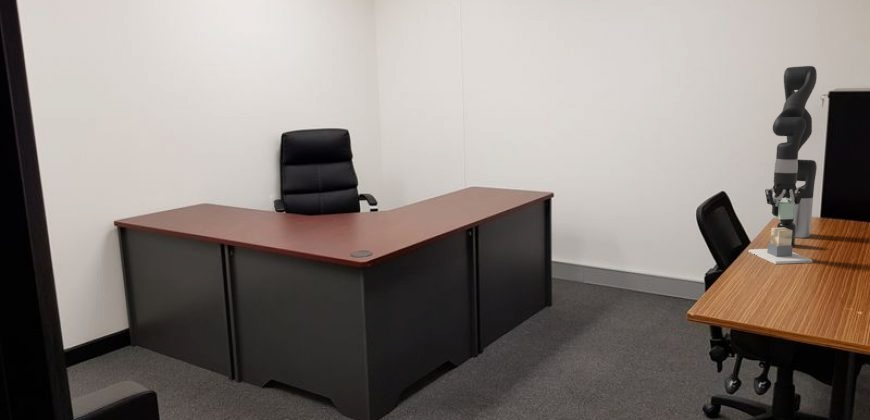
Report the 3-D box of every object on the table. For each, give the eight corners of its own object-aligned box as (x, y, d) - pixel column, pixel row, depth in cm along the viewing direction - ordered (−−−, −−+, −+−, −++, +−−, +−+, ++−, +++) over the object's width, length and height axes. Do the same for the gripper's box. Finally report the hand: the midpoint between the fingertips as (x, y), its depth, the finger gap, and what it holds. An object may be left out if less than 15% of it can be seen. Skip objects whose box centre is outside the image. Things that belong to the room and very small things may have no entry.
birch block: (770, 243, 238) (771, 227, 237) (783, 242, 238) (784, 227, 237) (778, 246, 233) (779, 230, 232) (791, 245, 233) (792, 230, 232)
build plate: (748, 251, 245) (749, 239, 244) (782, 250, 246) (783, 238, 245) (775, 264, 227) (776, 250, 227) (812, 262, 228) (813, 249, 227)
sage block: (772, 216, 236) (773, 201, 235) (784, 216, 236) (785, 201, 235) (779, 219, 231) (781, 203, 230) (792, 218, 231) (794, 203, 230)
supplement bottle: (790, 243, 257) (792, 215, 255) (797, 247, 250) (800, 218, 248) (772, 243, 258) (774, 215, 255) (780, 247, 251) (782, 218, 249)
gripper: (798, 169, 235) (794, 213, 238) (761, 170, 234) (758, 214, 237) (810, 171, 227) (807, 216, 230) (773, 172, 227) (769, 218, 230)
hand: (782, 215), depth 234 cm, fingers closed on sage block, 5 cm apart
